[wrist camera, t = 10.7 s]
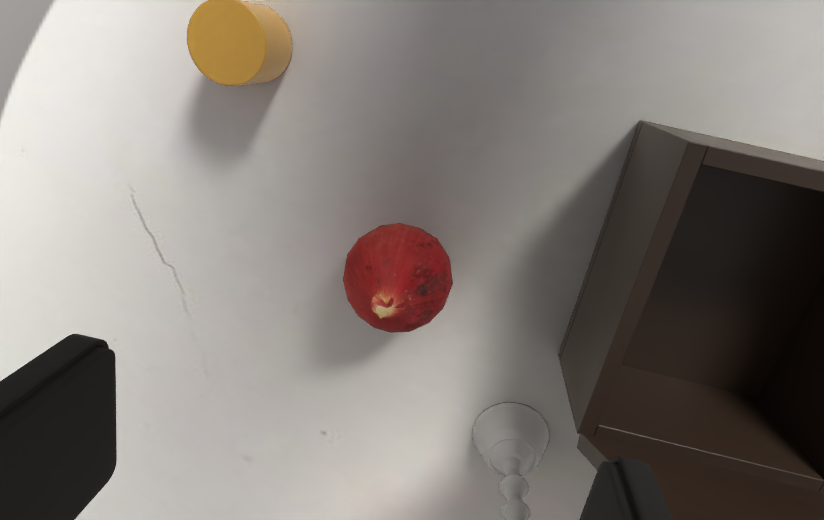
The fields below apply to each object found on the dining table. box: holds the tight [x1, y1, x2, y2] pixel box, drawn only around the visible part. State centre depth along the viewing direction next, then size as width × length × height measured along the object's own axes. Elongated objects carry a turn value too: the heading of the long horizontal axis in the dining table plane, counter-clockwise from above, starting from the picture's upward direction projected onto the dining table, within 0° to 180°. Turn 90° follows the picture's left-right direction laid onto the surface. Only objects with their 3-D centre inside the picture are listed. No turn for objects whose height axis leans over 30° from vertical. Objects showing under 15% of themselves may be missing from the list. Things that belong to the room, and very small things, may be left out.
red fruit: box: [343, 223, 453, 332], centre depth 30 cm, size 6×6×8 cm
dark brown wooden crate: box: [558, 121, 824, 492], centre depth 28 cm, size 15×13×8 cm
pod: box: [187, 0, 292, 86], centre depth 29 cm, size 4×4×4 cm
